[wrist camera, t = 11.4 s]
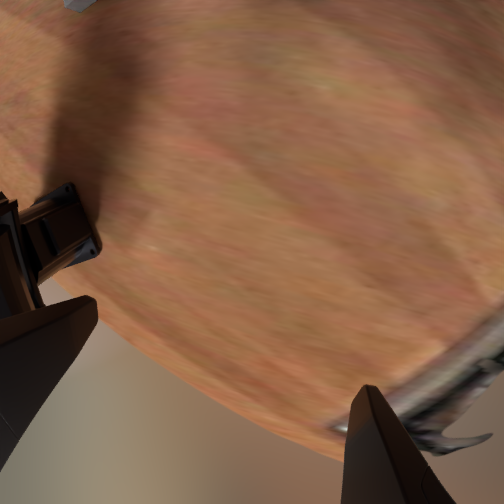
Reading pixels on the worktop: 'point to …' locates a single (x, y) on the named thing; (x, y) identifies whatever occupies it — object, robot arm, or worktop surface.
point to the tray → (78, 4)
